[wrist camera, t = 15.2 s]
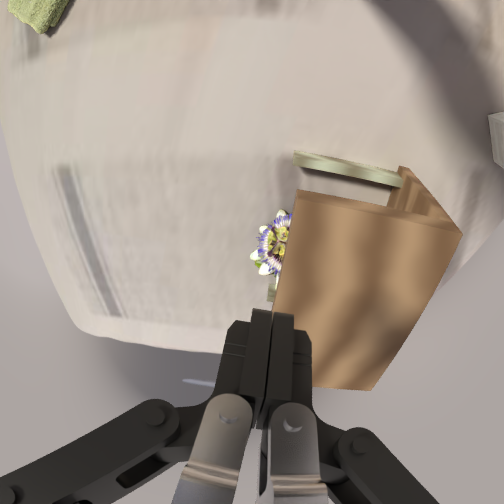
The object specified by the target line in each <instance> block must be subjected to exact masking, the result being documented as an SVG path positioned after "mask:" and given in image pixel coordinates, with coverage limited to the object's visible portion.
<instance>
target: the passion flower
mask: <svg viewBox="0 0 504 504" xmlns="http://www.w3.org/2000/svg"><path fill="white" fill-rule="evenodd" d="M291 217H292V213H290V214H287V212H286V211H284V210H283V209H281V210H279V212H278V213H277V217H276V219H275V220H274V221H272V225H269V224H268V225H263V226H261V227H260V233H259V234H261V237H262V238H260V237H256V238H259V241H260V244H259V246H257V247H258V249H256V250H255V251H254V252H253V253H252V254H251V255H250V258H251V259H252V260H256V261H255V265H256V266H257V267H258V268H259V271H258V273H259V274H260V275H270V274H273V275H274V276H275V277H276V282H277V283H276V286H275V289H276V288H277V284H278V279H279V275H280V270H281V265H282V261H283V256H284V251H285V246H286V242H287V237H288V232H289V227H290V222H291Z"/></svg>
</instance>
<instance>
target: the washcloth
mask: <svg viewBox="0 0 504 504" xmlns="http://www.w3.org/2000/svg"><path fill="white" fill-rule="evenodd" d="M68 2H69V0H9V3H8V11H9V12H10V13H12V14H14V15H15V17H17V18H18V19H19V20H20V21H21V22H23V23H26V24H29V25H30V26H31V27H33V28H34V29H35V31H36V32H37V33H39V34H43V33H44V32H45V31H47V30H48V28H49V26H52V27H54V26H56V24H57V23H58V21H59V18H60V17H61V15H62V13H63V11H64V9H65V7H66V5H67V4H68Z"/></svg>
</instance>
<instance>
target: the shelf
mask: <svg viewBox="0 0 504 504" xmlns="http://www.w3.org/2000/svg"><path fill="white" fill-rule="evenodd" d="M293 165H295V166H300V167H306V168H311V169H317V170H322V171H327V172H332V173H337V174H342V175H347V176H352V177H356V178H361V179H366V180H370V181H374V182H379V183H383V184H387V185H391V186H393V188H392V191H391V194H390V197H389V200H388V203H387V206H386V207H385V206H380V205H376V204H371V203H366V202H362V201H357V200H352V199H347V198H342V197H337V196H332V195H326V194H321V193H316V192H310V191H304V190H299V189H297V192H296V197H295V202H294V207H293V212H292V217H291V222H290V227H289V232H288V237H287V242H286V246H285V251H284V256H283V261H282V265H281V270H280V275H279V279H278V284H277V288H276V289H275V286H276V285H273V284H269V288H268V296H267V301H270V302H273V306H272V312H273V313H274V312H281V313H288V314H294V329H298V330H305V331H306V332H307V334H308V336H309V338H310V340H311V342H312V387H323V388H334V389H348V390H349V389H350V390H364V391H371V390H372V388H373V387H374V386H375V384H376V383H377V381H378V380H379V379H380V377H381V376H382V374H383V373H384V372H385V370H386V368H387V367H388V366H389V364H390V363H391V362H392V360H393V359H394V357H395V356H396V354H397V352H398V351H399V350H400V348H401V347H402V345H403V343H404V342H405V340H406V339H407V337H408V335H409V334H410V332H411V331H412V329H413V327H414V326H415V324H416V322H417V321H418V319H419V318H420V316H421V314H422V312H423V311H424V309H425V307H426V306H427V304H428V302H429V300H430V298H431V297H432V295H433V293H434V291H435V289H436V287H437V286H438V284H439V282H440V280H441V278H442V276H443V274H444V272H445V270H446V268H447V266H448V264H449V262H450V260H451V258H452V256H453V254H454V252H455V250H456V248H457V246H458V244H459V241H460V239H461V237H462V235H463V234H462V232H461V231H460V230H459V228H458V227H457V226H456V224H455V223H454V222H453V221H452V219H451V218H450V217H449V215H448V214H447V213H446V212H445V210H444V209H443V208H442V207H441V205H440V204H439V203H438V202H437V200H436V199H435V198H434V197H433V196H432V194H431V193H430V192H429V191H428V190H427V188H426V187H425V186H424V185H423V184H422V183H421V181H420V180H419V179H418V178H417V177H416V176H415V175H414V173H413V172H412V171H411V170H410V169H409V168H406V167H402V166H399V168H398V171H397V172H393V171H389V170H385V169H381V168H377V167H373V166H369V165H364V164H360V163H355V162H351V161H346V160H341V159H337V158H332V157H327V156H322V155H316V154H311V153H306V152H300V151H294V155H293ZM272 317H273V314H272Z"/></svg>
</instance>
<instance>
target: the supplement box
mask: <svg viewBox="0 0 504 504" xmlns="http://www.w3.org/2000/svg"><path fill="white" fill-rule="evenodd" d="M488 121H489V128H490V135H491V144H492V153H493V161H494V162H495V163H497V164H498V165H499V166H501V167H502V168H503V169H504V112H500V113H495V114H490V115H488Z"/></svg>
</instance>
